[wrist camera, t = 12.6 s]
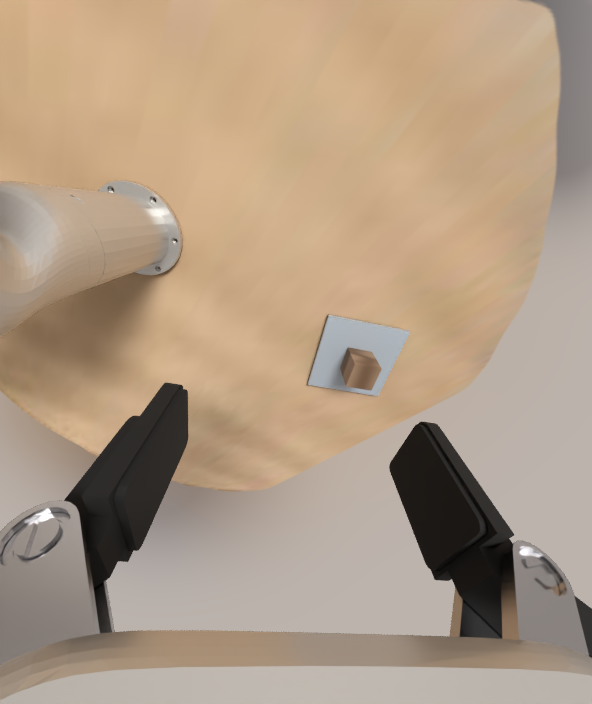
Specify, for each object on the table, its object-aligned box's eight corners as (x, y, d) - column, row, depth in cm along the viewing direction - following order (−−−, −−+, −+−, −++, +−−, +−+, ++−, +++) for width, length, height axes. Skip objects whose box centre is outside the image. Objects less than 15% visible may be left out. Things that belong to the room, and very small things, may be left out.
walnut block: (339, 368, 49) (345, 386, 44) (347, 347, 46) (354, 364, 41) (362, 372, 49) (371, 390, 44) (371, 351, 47) (381, 368, 42)
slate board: (307, 382, 51) (307, 384, 51) (328, 314, 44) (328, 316, 43) (376, 393, 53) (377, 396, 53) (408, 330, 46) (410, 332, 45)
